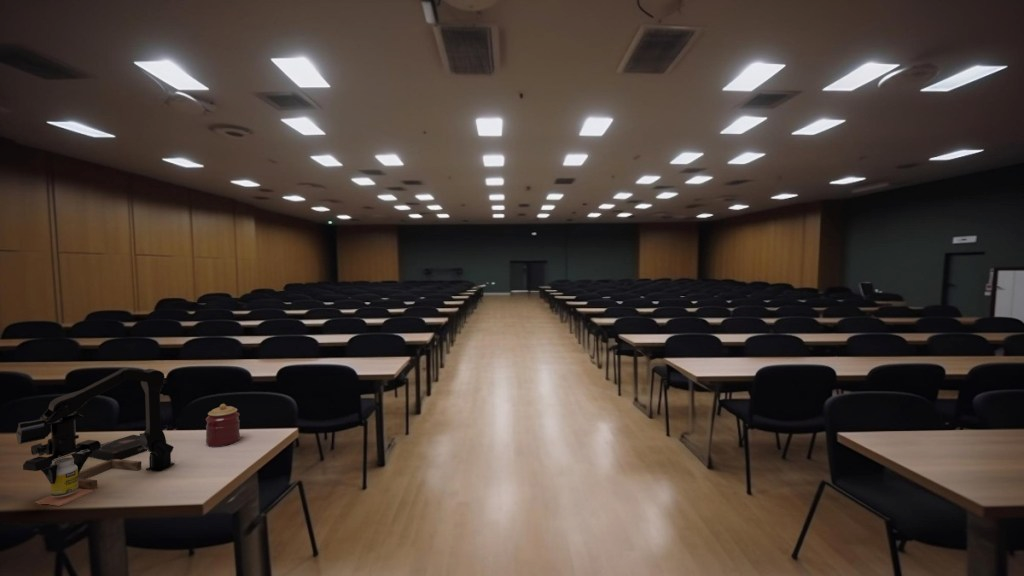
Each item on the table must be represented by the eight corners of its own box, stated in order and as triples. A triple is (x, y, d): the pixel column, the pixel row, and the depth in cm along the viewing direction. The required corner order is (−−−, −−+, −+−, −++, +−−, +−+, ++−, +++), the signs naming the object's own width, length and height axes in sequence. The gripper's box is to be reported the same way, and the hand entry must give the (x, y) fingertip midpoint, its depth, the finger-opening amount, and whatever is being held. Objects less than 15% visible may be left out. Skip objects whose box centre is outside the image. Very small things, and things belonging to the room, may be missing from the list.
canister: (246, 437, 201) (246, 400, 200) (225, 448, 188) (225, 409, 187) (221, 435, 202) (220, 399, 201) (198, 446, 189) (198, 407, 188)
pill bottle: (60, 499, 142) (59, 465, 141) (46, 497, 143) (44, 463, 143) (83, 489, 148) (82, 457, 148) (69, 487, 149) (68, 455, 149)
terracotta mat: (93, 491, 150) (93, 490, 150) (59, 506, 140) (59, 505, 140) (70, 488, 151) (70, 487, 151) (34, 503, 141) (34, 502, 141)
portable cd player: (132, 443, 194) (132, 434, 193) (158, 448, 188) (158, 439, 188) (87, 457, 178) (87, 448, 178) (114, 463, 173) (113, 453, 173)
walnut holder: (141, 468, 167) (141, 461, 167) (92, 490, 150) (92, 482, 150) (112, 466, 169) (112, 458, 169) (61, 487, 152) (61, 478, 152)
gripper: (76, 423, 155) (77, 465, 156) (8, 443, 137) (10, 490, 137) (101, 425, 154) (102, 467, 154) (36, 445, 135) (37, 493, 136)
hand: (64, 478), depth 145 cm, fingers closed on pill bottle, 6 cm apart
